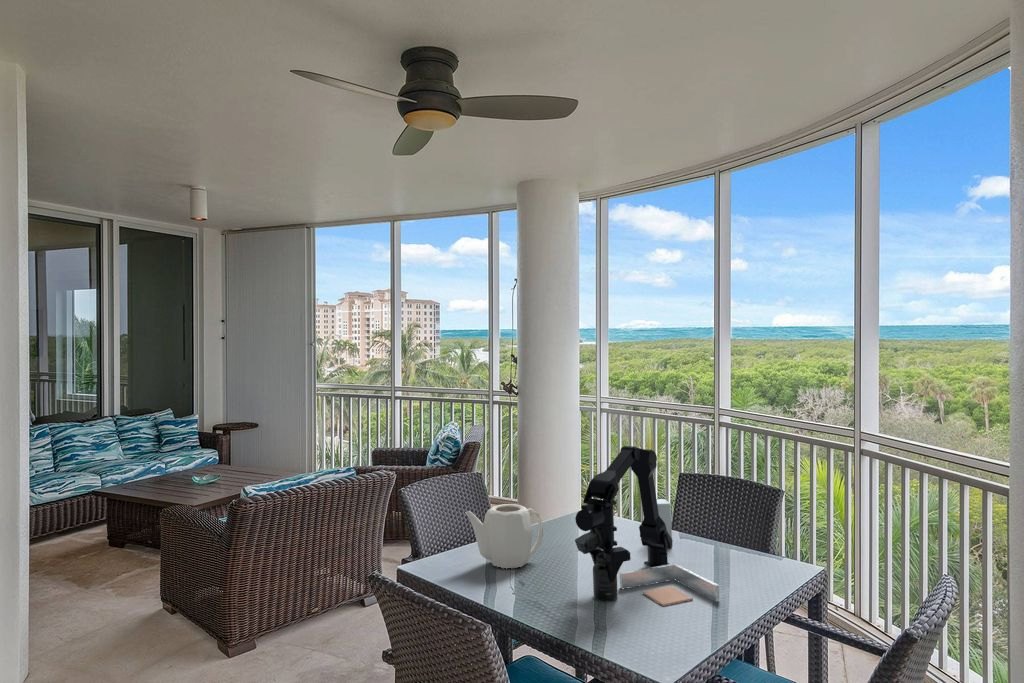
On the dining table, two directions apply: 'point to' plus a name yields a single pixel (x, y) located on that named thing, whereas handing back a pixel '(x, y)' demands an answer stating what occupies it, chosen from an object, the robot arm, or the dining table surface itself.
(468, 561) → the dining table surface
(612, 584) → the supplement bottle
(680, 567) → the corner walls
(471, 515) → the white teapot
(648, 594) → the terracotta tile
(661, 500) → the skincare box
